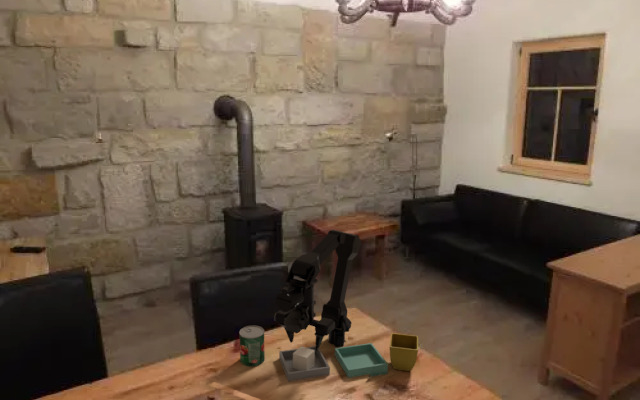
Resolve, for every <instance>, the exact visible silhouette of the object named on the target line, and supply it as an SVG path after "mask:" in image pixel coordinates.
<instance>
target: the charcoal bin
mask: <svg viewBox="0 0 640 400" xmlns="http://www.w3.org/2000/svg"><path fill="white" fill-rule="evenodd" d="M305 348H309V349H312V350H315V365H314V366H313V367H312V368H311V369H308V370H302V371H301V370H298V369H295V368H293V353H294V352H295V351H296V350H297V349H298V348H293V349H285V350H279V352H278V354H279V355H278V356H279V357H278V358H279V361H280V363H281V366H282V369H283V371H284V374H285V376H286V379H287V381H288V382H292V381H293V382H294V381H299V380H305V379H306V380H307V379H313V378H318V377H319V378H320V377H323V376H330V375H331V373H330V372H331V371H330V370H331V366H330V365H329V364H328V361H327V360H326V357H324V354H323V353H322V351H321V349H320V348H319V349H318V350H316V347H315V345H314V346H307V347H305Z"/></svg>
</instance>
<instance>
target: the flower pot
mask: <svg viewBox="0 0 640 400" xmlns="http://www.w3.org/2000/svg"><path fill="white" fill-rule="evenodd" d="M418 352H419V337H418V335H413V334H412V335H411V334H403V333H394V332H392V333H390V341H389V359H390V360H389V361H390V363H391V366H392V367H393V369H394V370H396V371H397V370H399V371H405V372H411V371H412V370H413V369H414V367H415V365H416V362H417V358H418V357H417V356H418V354H419V353H418Z"/></svg>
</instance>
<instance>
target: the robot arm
mask: <svg viewBox="0 0 640 400" xmlns="http://www.w3.org/2000/svg"><path fill="white" fill-rule="evenodd" d="M361 245H362V240H361V238H360V236H359V235H358V234H353V233H349V232H344V231H341V230H336V229H330V230H329V231H328V232H327V235H326V236H325V237H323V239H322V240H321V241H320V242H319V243H318V244H317V245H316V246H315V247H314V248H313V249H312V250H311V251H309V252H307V253H306V254H301V255H300V256H299V257H297V258H296V259H295V260H294V261H292V262H293V263H292V264H291V266H290V269H289V270H288V273H287V276H286V279H285V282H284V283H285V284H286V285H288V286H285V287H282V288H281V289H280V290H281V292H279V293H278V294H277V295H276V297H275V303H276V305H277V308H278V309H279V310H278V311H276V312H275V313H274V322H276V323H278V324H277V325H280V326H281V327H283V328H284V331H285V333H286V335H287V337H288V340H289V342H290V343H293V342H294V338H295V337H294V336H295V334H298V333H301V331H302V330H304V331H306V330H307V329H308V327H309V326H311V327H314V331H315V332H314V336H315V345H314V346H315V347H316V350H318V349H320V346H321V345H322V342H323V340H324V338H325V336H328V337H327V339H328V343H329V344H330V345H332V346H334V347H335V348H341V347H345V343H347V341H346V333H348V332H350V329H351V327H352V323H353V322H352V321H351V320H350V319H349V318H348V309H347V305H346V303H345V299H346V296H347V295H346V294H347V290H348V283H349V277H350V275H351V268H352V262H353V260H354V259H355V257H357V255H358V254H359V252H360V251H359V250H360V248H361ZM334 251H335V254H336V257H337V261H336V265H335V271H334V277H333V282H332V286H331V287H332V289H331V293H330V298H329V300H328V301H327V302H326V303H324V304H323V305H322V311H321V314H320V318H321V319H320V320H317V319H315V317H316V316H317V315H316V314H317V313H316V312H315V310H314V307H315V305H316V303H317V302H316V300H315V296H314V295H315V284H316V283H318V282H319V280H318V279H317V277H318V275H319V273H320V272H321V265H322V264H323V262H325V261H326V260H327V258H328V257H329V256H330V255H332V253H333V252H334ZM297 278H298V279H297ZM300 279H301V280H300Z"/></svg>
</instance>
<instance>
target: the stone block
mask: <svg viewBox="0 0 640 400" xmlns="http://www.w3.org/2000/svg"><path fill="white" fill-rule="evenodd" d="M296 349H297V350H296V351H295V352H294V353H293V368H295V369H298V370H301V371H302V370H308V369H311V368H312V367H313V366H314V365H315V350H312V349H309V348H306V347H305V346H302V345H301V346H300V347H299V348H296Z"/></svg>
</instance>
